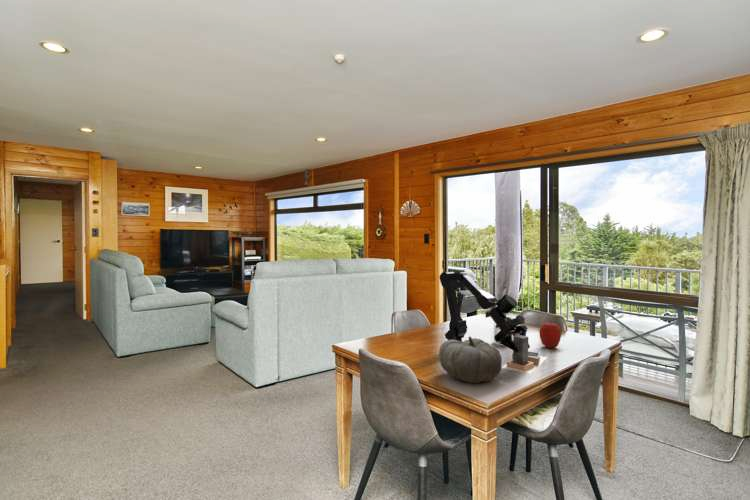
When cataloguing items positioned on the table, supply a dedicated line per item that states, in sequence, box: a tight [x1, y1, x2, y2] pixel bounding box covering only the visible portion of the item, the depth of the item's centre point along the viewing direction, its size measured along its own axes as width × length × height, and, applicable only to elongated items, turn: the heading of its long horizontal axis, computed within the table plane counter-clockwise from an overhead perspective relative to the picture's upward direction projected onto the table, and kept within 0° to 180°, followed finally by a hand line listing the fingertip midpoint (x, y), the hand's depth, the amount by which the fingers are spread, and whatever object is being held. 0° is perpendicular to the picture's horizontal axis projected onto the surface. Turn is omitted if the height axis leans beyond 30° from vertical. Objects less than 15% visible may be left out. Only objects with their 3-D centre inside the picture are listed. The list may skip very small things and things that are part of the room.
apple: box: [539, 321, 562, 349], centre depth 201 cm, size 10×10×14 cm
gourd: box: [438, 336, 503, 384], centre depth 157 cm, size 25×25×17 cm
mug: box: [493, 323, 504, 346], centre depth 204 cm, size 12×8×10 cm
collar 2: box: [528, 350, 541, 361], centre depth 180 cm, size 8×8×2 cm
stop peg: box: [512, 335, 529, 365], centre depth 167 cm, size 4×4×13 cm
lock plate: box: [501, 353, 548, 375], centre depth 174 cm, size 28×12×4 cm, turn 143°
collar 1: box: [506, 359, 534, 371], centre depth 168 cm, size 8×8×2 cm
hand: (523, 349), depth 166 cm, fingers open, 9 cm apart
